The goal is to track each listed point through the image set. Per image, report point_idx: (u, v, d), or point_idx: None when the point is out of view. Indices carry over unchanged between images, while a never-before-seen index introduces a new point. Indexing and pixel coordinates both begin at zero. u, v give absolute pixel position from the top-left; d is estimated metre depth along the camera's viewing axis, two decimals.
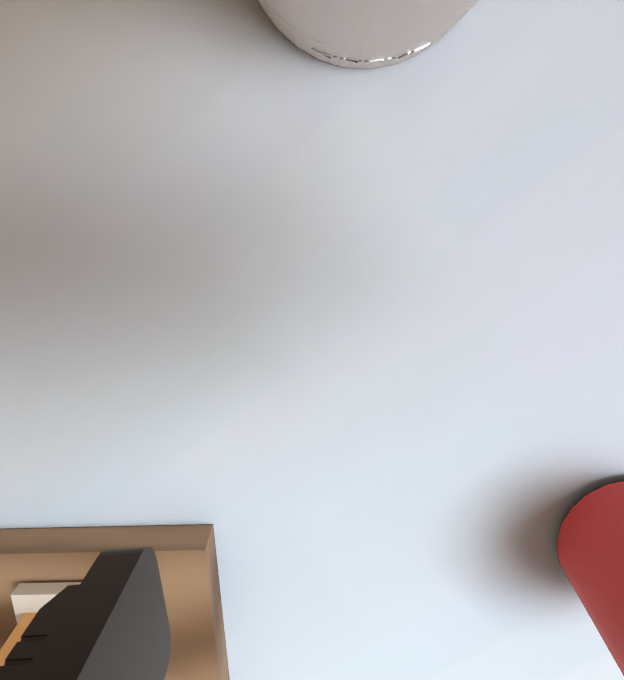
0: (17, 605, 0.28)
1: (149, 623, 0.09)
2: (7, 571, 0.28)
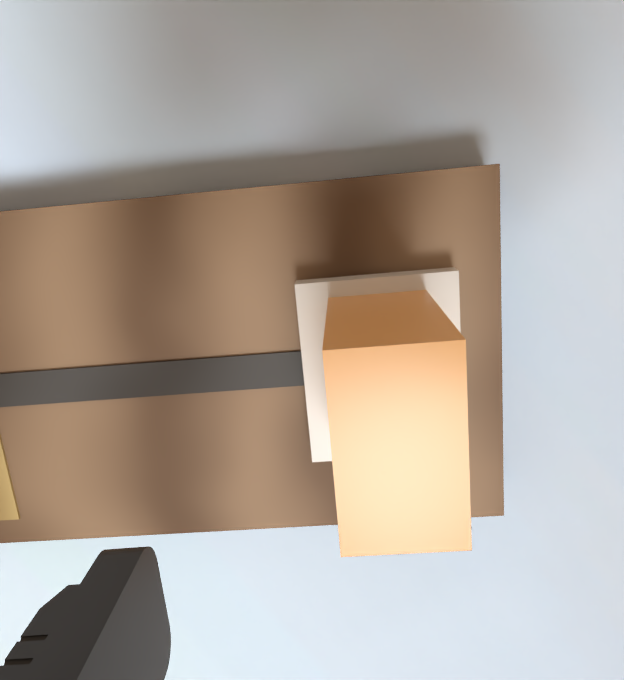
0: (440, 279, 0.18)
1: (148, 623, 0.09)
2: (470, 246, 0.19)
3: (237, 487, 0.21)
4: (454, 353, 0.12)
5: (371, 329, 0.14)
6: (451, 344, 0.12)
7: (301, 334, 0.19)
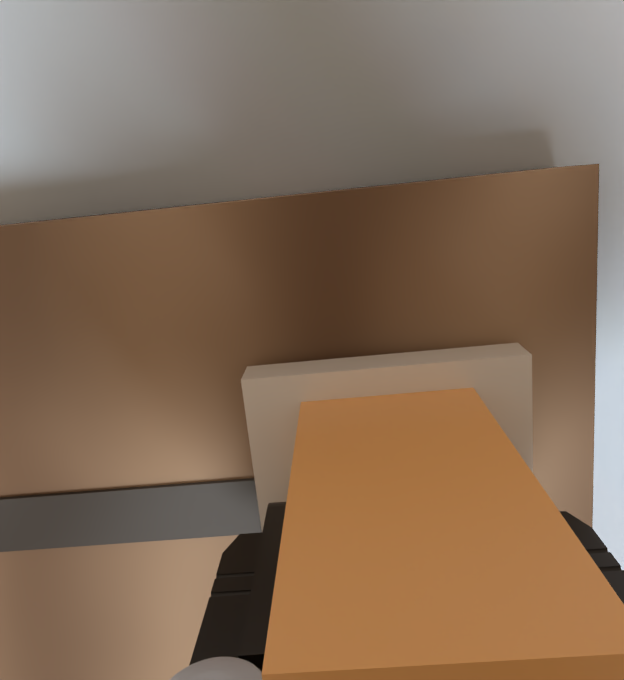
0: (498, 370, 0.10)
1: None
2: (543, 306, 0.11)
3: None
4: None
5: (388, 552, 0.06)
6: (615, 662, 0.05)
7: (255, 463, 0.11)
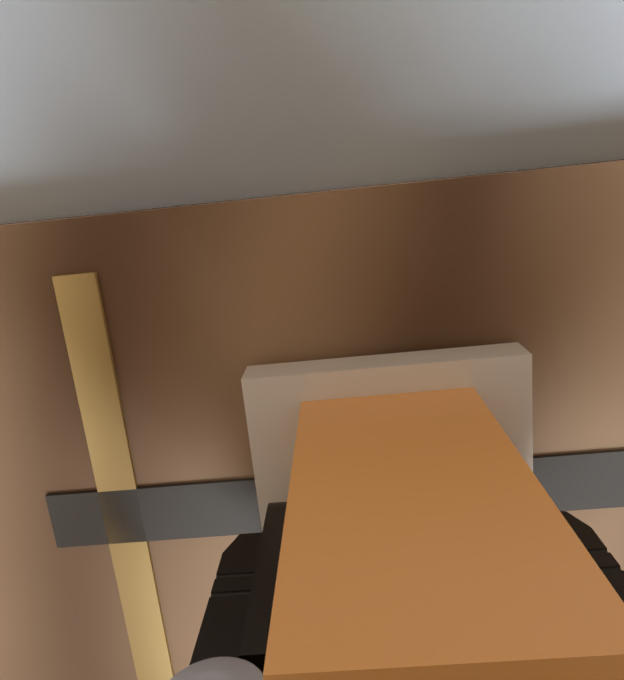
0: (498, 370, 0.10)
1: None
2: None
3: None
4: None
5: (388, 552, 0.06)
6: (617, 662, 0.05)
7: (256, 462, 0.11)
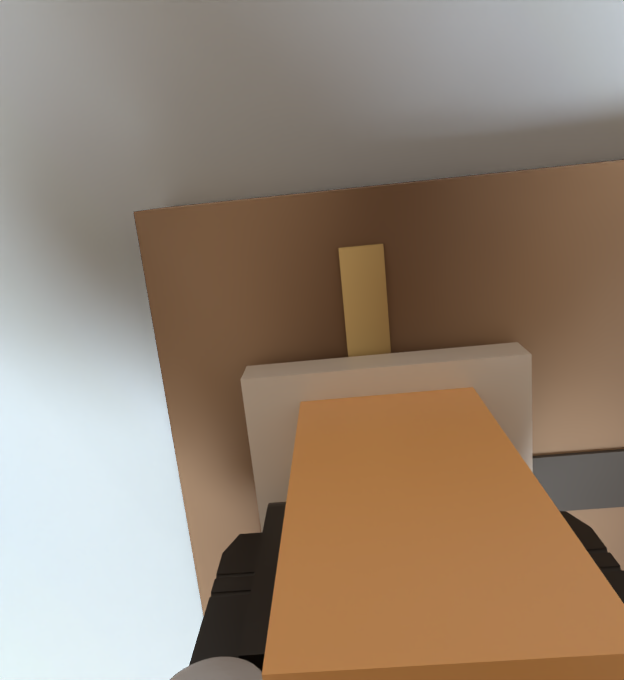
0: (498, 370, 0.10)
1: None
2: None
3: None
4: None
5: (387, 552, 0.06)
6: (615, 662, 0.05)
7: (255, 462, 0.11)
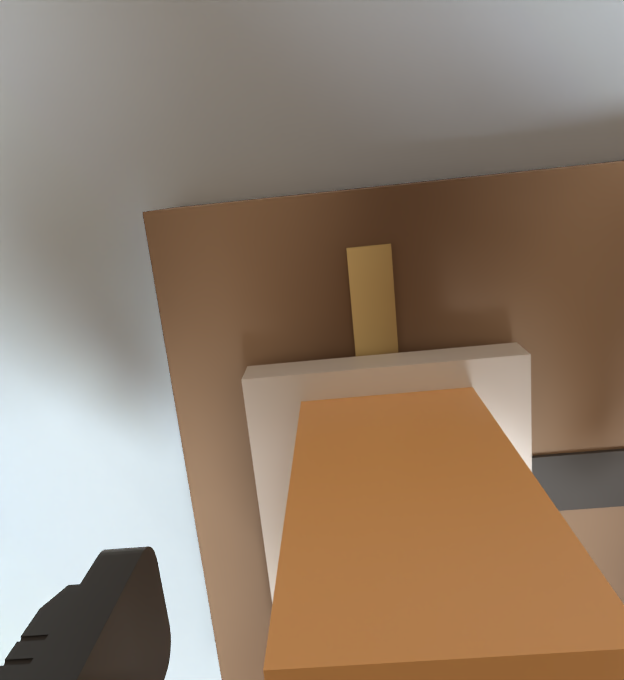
0: (497, 370, 0.10)
1: (149, 622, 0.09)
2: None
3: None
4: (620, 679, 0.05)
5: (387, 550, 0.06)
6: (612, 657, 0.05)
7: (256, 462, 0.11)
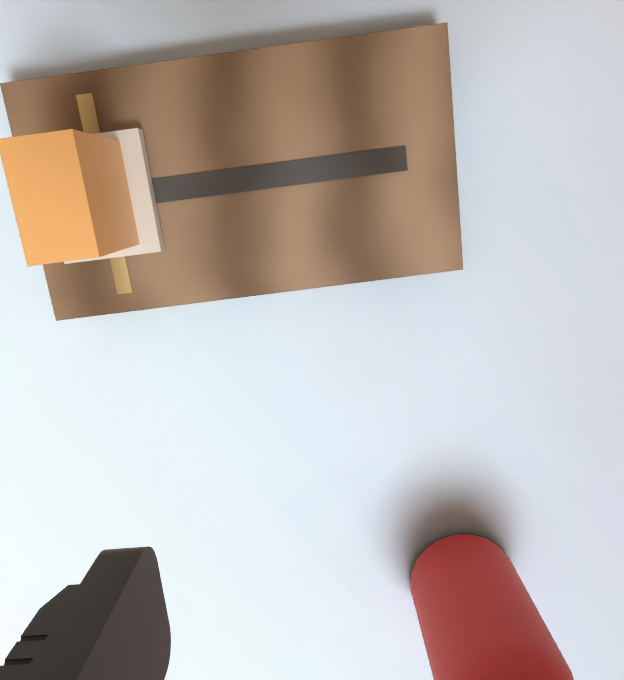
0: (127, 134, 0.29)
1: (148, 623, 0.09)
2: (431, 78, 0.29)
3: (284, 259, 0.31)
4: (67, 137, 0.23)
5: None
6: (65, 132, 0.23)
7: None
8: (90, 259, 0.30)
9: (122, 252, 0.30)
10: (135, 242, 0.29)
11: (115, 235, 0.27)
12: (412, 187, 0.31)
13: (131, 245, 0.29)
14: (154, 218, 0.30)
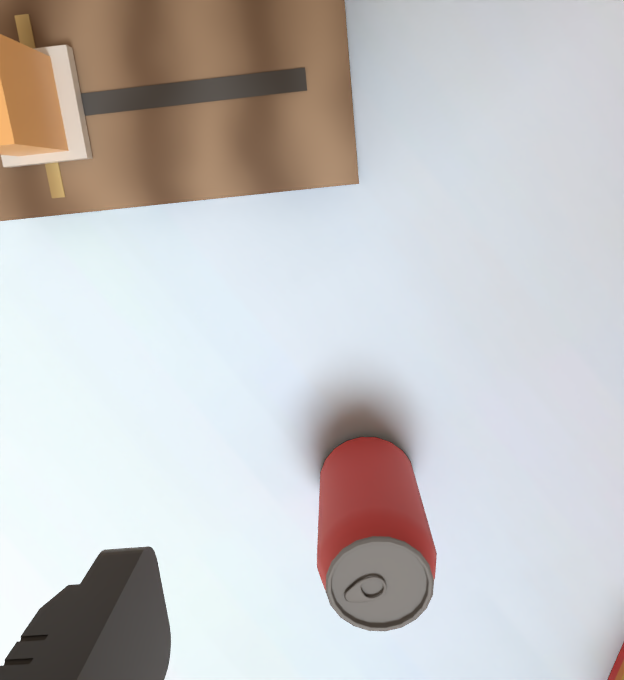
0: (56, 50, 0.33)
1: (149, 623, 0.09)
2: (327, 6, 0.33)
3: (198, 170, 0.35)
4: None
5: None
6: None
7: None
8: (26, 163, 0.34)
9: (53, 157, 0.34)
10: (63, 147, 0.33)
11: (37, 132, 0.31)
12: (312, 106, 0.34)
13: (57, 148, 0.33)
14: (81, 127, 0.34)
